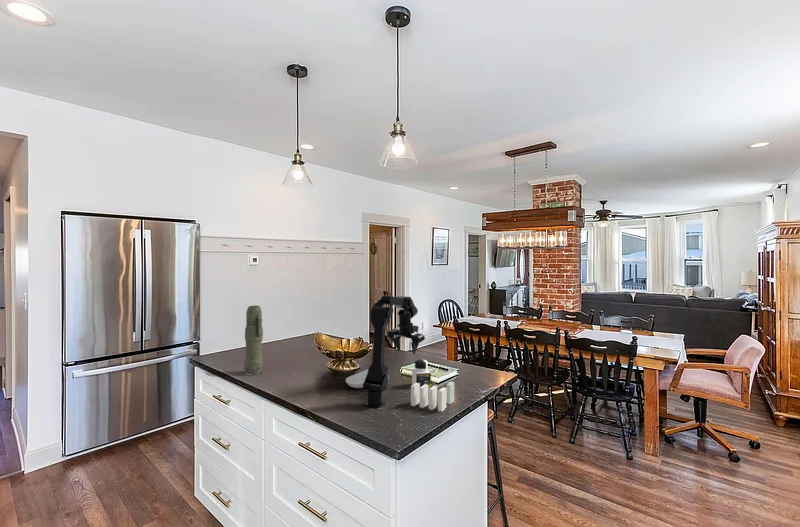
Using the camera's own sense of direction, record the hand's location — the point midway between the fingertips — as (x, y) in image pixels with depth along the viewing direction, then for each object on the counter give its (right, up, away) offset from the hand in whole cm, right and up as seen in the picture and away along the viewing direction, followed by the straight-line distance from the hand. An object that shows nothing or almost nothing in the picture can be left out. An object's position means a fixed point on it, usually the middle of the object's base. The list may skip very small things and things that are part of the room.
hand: (406, 352), depth 188 cm
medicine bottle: (+7, -15, -5) cm, 17 cm away
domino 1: (+3, -15, -29) cm, 33 cm away
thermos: (-80, -14, +13) cm, 82 cm away
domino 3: (+10, -15, -33) cm, 38 cm away
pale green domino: (+18, -15, -27) cm, 36 cm away
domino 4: (+14, -15, -35) cm, 40 cm away
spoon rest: (-19, -15, -3) cm, 24 cm away
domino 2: (+6, -15, -31) cm, 35 cm away
